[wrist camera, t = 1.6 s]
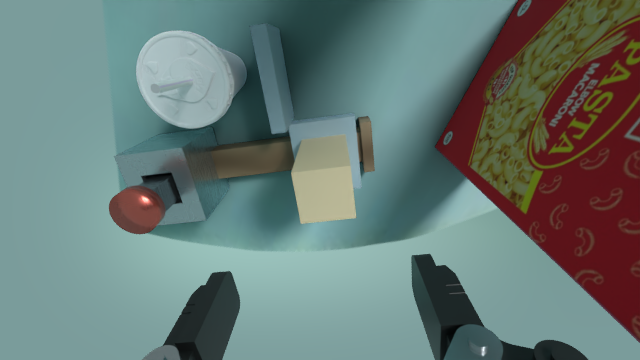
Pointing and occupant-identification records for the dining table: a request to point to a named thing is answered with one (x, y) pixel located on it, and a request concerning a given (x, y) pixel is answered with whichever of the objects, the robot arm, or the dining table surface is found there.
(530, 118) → the food packaging
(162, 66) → the smoothie
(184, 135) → the gauge cabinet
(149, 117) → the dining table surface
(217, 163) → the rail
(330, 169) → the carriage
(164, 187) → the gauge button
